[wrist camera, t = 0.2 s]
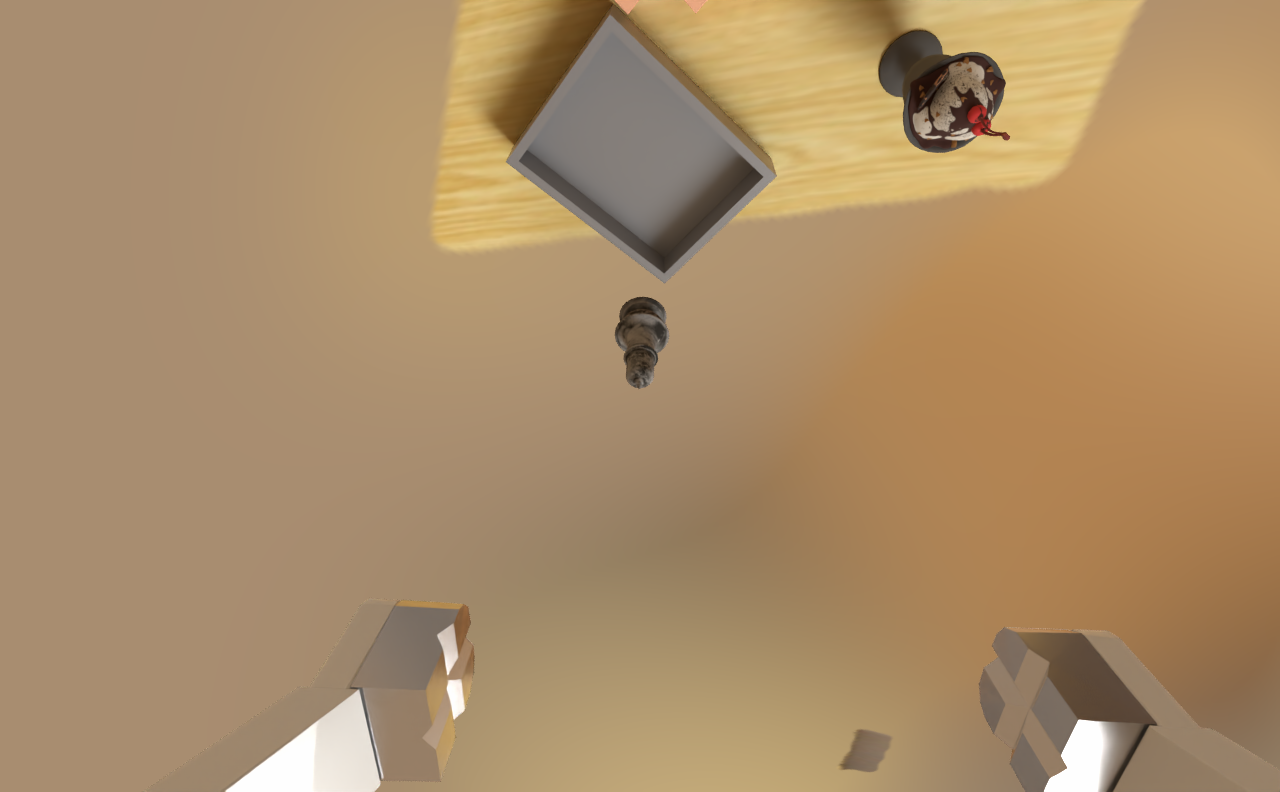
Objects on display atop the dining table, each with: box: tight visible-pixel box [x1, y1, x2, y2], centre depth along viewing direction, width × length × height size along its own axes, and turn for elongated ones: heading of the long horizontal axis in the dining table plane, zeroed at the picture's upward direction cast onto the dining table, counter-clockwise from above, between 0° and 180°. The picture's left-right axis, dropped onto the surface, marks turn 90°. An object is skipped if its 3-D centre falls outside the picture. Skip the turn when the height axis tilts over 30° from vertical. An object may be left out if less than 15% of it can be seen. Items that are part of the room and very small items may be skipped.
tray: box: [506, 4, 777, 283], centre depth 54 cm, size 15×19×4 cm
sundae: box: [879, 31, 1010, 153], centre depth 44 cm, size 7×7×15 cm
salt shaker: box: [615, 297, 669, 389], centre depth 64 cm, size 6×6×12 cm
